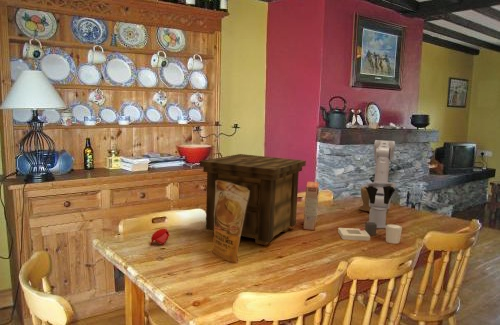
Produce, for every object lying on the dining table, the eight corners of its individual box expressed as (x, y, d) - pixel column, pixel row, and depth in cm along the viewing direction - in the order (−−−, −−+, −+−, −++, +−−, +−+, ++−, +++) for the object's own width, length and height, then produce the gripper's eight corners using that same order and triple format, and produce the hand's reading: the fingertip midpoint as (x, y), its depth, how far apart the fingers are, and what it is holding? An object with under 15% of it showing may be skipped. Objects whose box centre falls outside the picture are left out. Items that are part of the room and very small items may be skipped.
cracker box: (315, 230, 188) (318, 187, 185) (302, 229, 189) (305, 186, 186) (317, 222, 201) (319, 181, 198) (304, 221, 203) (307, 180, 200)
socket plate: (337, 231, 187) (338, 226, 187) (363, 233, 187) (364, 227, 187) (342, 239, 177) (343, 233, 176) (370, 240, 176) (370, 235, 176)
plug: (365, 232, 189) (365, 222, 188) (373, 232, 189) (374, 222, 188) (367, 235, 185) (368, 224, 184) (375, 235, 185) (376, 224, 184)
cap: (170, 232, 167) (157, 225, 166) (172, 231, 162) (159, 224, 161) (160, 249, 165) (147, 242, 163) (162, 249, 159) (149, 242, 158)
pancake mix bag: (220, 246, 162) (222, 178, 158) (249, 262, 147) (251, 187, 143) (205, 249, 158) (207, 179, 154) (234, 265, 143) (236, 188, 139)
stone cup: (354, 211, 227) (356, 185, 225) (364, 207, 236) (366, 182, 234) (380, 216, 218) (382, 189, 216) (389, 213, 226) (391, 186, 224)
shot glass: (390, 244, 172) (391, 228, 171) (381, 239, 179) (382, 224, 178) (404, 243, 174) (405, 228, 173) (394, 238, 181) (395, 223, 180)
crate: (301, 228, 190) (305, 160, 186) (270, 250, 159) (274, 169, 155) (237, 217, 206) (239, 154, 202) (198, 234, 176) (199, 161, 171)
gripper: (362, 172, 183) (360, 201, 181) (389, 171, 171) (386, 202, 169) (373, 175, 187) (370, 204, 185) (399, 174, 175) (397, 205, 172)
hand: (379, 203), depth 177 cm, fingers open, 7 cm apart
